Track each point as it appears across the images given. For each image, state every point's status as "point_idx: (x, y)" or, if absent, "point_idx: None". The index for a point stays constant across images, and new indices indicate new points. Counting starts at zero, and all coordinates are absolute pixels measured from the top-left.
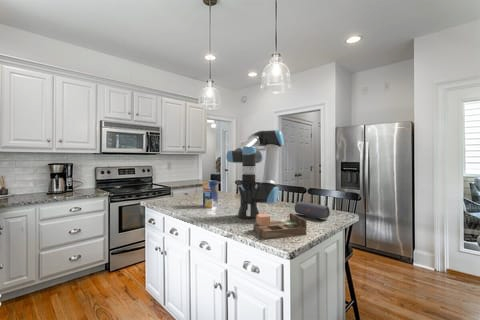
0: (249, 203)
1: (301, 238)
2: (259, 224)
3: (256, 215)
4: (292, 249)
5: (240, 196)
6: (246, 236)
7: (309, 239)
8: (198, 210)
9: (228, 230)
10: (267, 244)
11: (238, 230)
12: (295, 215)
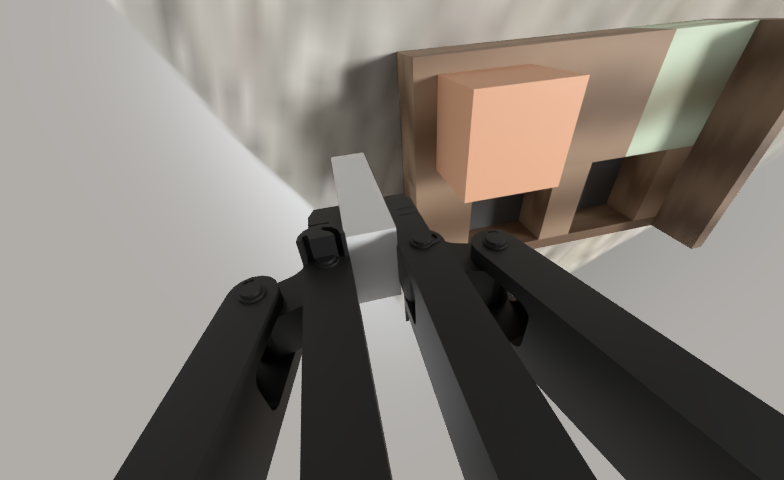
0: (399, 264)
1: (566, 246)
2: (438, 154)
3: (469, 89)
4: None
5: (135, 452)
6: (313, 198)
7: (583, 258)
8: None
9: (140, 16)
10: (395, 297)
11: (255, 43)
12: (778, 125)
